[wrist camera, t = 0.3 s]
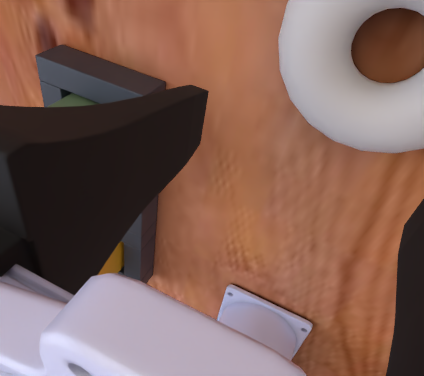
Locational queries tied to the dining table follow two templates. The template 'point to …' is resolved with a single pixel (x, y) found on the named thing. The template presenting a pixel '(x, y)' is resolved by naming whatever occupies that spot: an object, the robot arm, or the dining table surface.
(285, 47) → the donut
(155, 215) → the peg stand
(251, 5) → the dining table surface
